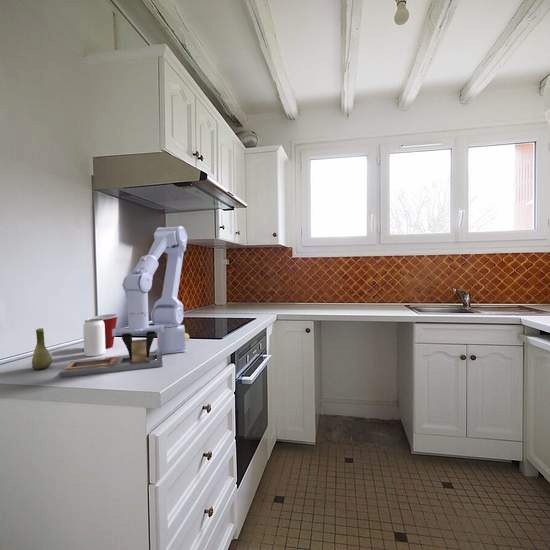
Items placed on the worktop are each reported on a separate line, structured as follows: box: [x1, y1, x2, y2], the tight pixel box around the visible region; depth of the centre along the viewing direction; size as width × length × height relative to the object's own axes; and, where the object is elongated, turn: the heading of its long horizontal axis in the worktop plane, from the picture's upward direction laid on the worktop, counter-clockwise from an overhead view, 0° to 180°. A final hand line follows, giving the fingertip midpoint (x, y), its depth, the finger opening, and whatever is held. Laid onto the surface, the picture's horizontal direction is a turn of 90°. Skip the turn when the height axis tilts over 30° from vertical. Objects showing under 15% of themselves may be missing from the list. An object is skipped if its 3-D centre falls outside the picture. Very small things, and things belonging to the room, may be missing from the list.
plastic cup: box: [85, 313, 119, 349], centre depth 125 cm, size 11×11×12 cm
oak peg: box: [132, 338, 147, 362], centre depth 102 cm, size 4×4×7 cm
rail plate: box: [59, 352, 164, 379], centre depth 100 cm, size 26×12×2 cm, turn 109°
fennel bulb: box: [31, 327, 53, 370], centre depth 100 cm, size 6×5×12 cm
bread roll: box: [185, 332, 190, 342], centre depth 135 cm, size 8×9×4 cm
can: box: [82, 319, 107, 358], centre depth 115 cm, size 6×6×12 cm
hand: (139, 357), depth 102 cm, fingers closed on oak peg, 4 cm apart
